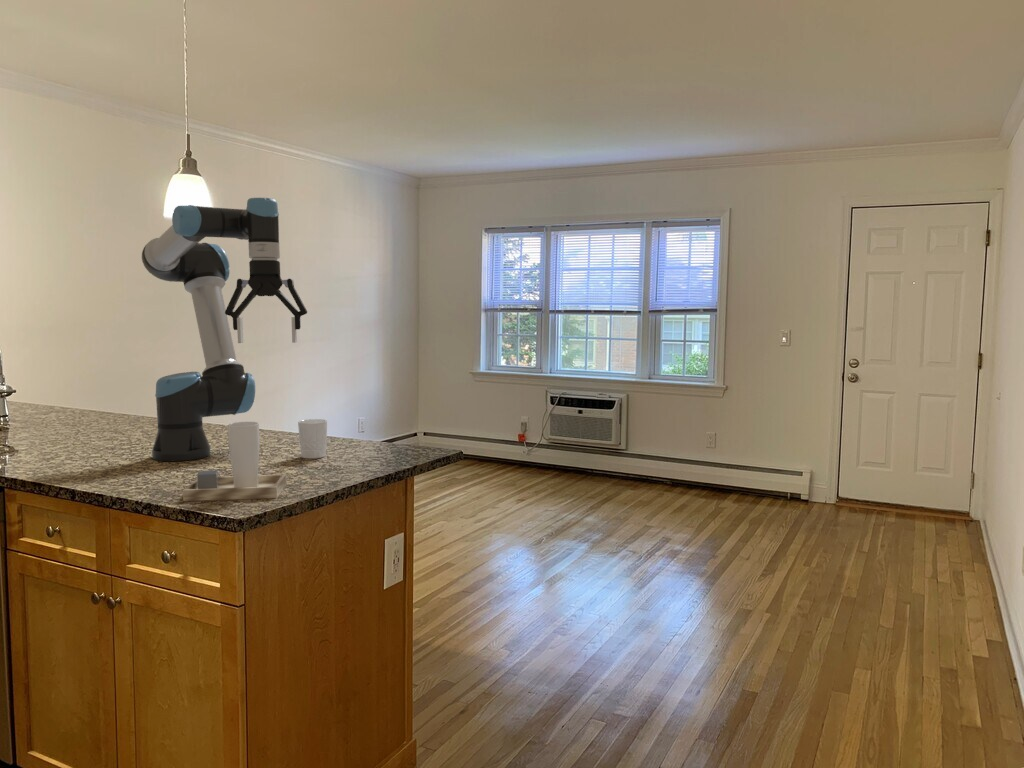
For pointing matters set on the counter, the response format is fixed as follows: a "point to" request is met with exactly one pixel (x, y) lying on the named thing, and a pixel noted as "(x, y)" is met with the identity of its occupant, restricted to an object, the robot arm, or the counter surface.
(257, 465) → the drinking glass
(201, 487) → the cube
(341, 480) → the counter surface
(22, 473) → the counter surface
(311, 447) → the white cup
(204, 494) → the tray
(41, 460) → the counter surface
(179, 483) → the counter surface
